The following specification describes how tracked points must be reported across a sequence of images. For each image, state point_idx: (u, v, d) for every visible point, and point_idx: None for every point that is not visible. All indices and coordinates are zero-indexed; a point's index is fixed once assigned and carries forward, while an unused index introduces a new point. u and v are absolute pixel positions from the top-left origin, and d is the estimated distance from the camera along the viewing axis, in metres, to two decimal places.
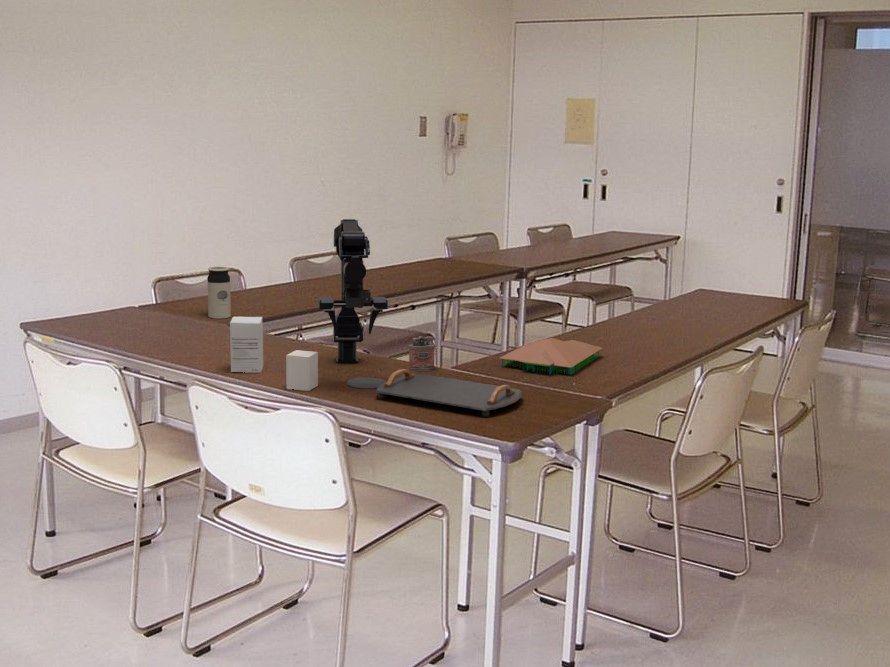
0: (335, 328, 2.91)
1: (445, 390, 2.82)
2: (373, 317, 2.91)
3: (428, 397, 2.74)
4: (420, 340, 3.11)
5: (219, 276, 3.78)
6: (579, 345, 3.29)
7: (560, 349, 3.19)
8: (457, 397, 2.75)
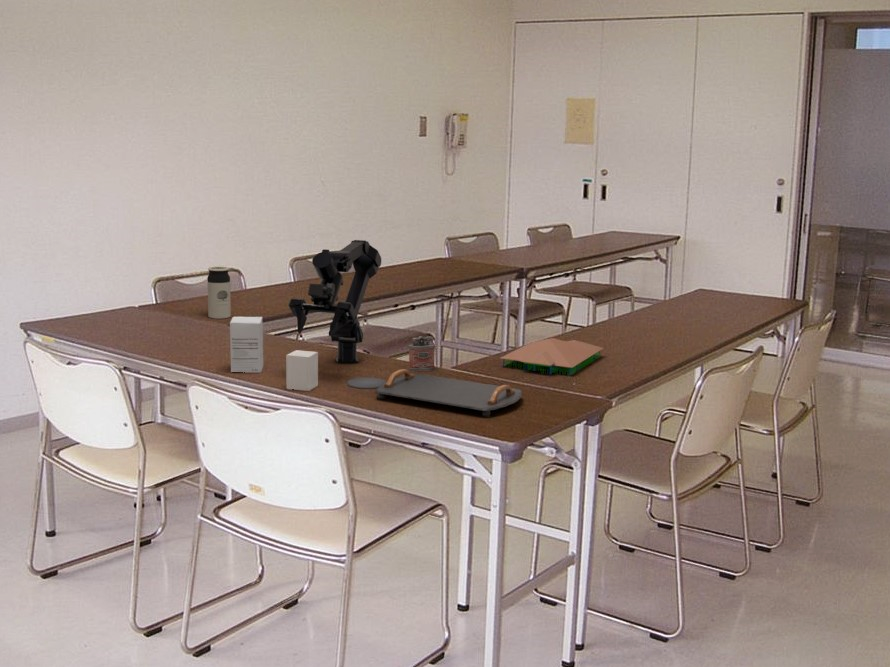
0: (298, 326, 2.97)
1: (445, 390, 2.82)
2: (335, 318, 2.96)
3: (428, 398, 2.74)
4: (420, 340, 3.11)
5: (219, 276, 3.78)
6: (580, 345, 3.29)
7: (561, 349, 3.19)
8: (458, 397, 2.75)
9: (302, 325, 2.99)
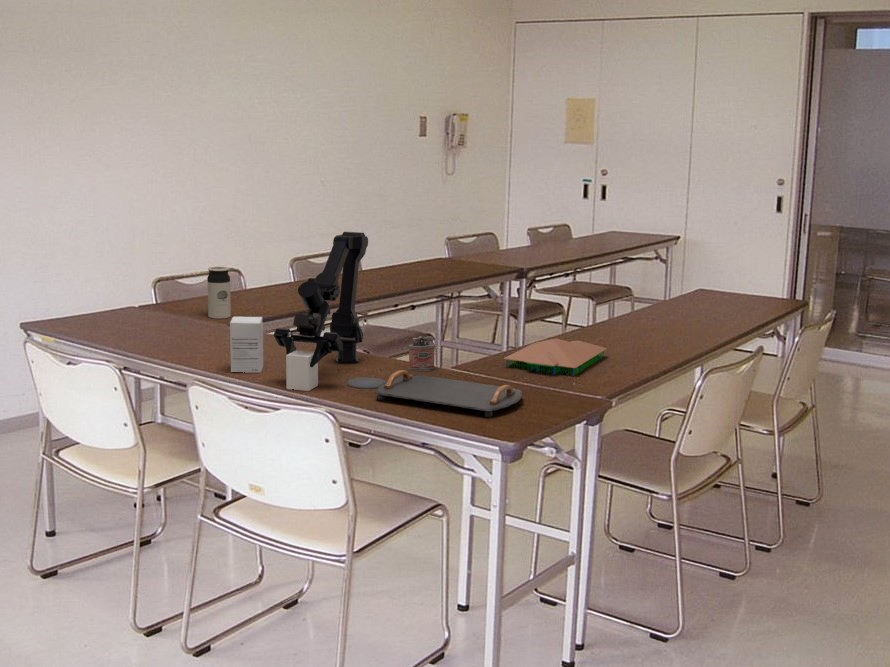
0: None
1: (445, 391, 2.81)
2: (317, 349, 2.88)
3: (430, 398, 2.73)
4: (420, 340, 3.11)
5: (219, 276, 3.78)
6: (584, 346, 3.28)
7: (564, 349, 3.19)
8: (459, 398, 2.74)
9: None
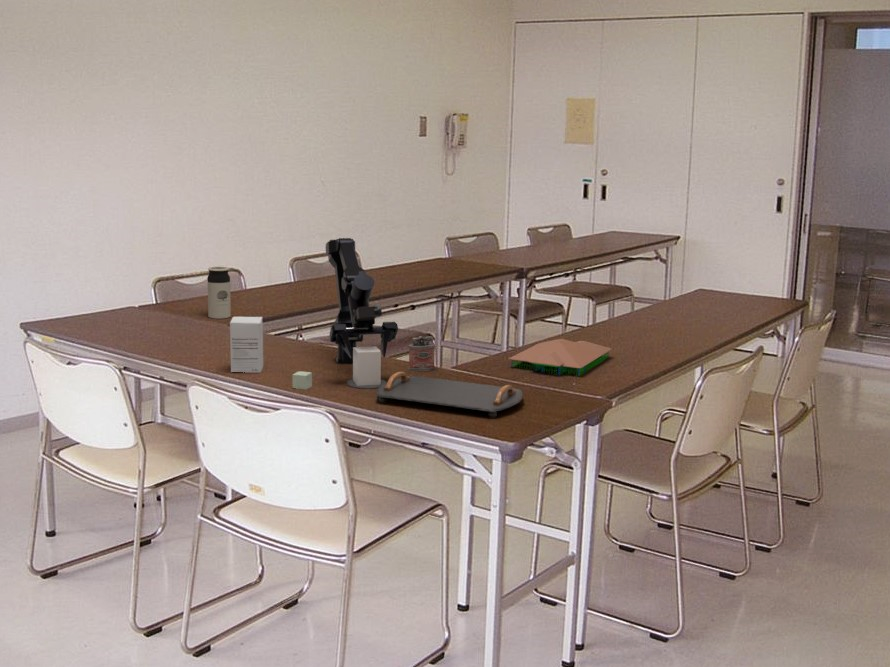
0: (350, 351, 2.92)
1: (446, 392, 2.80)
2: (385, 339, 2.96)
3: (432, 400, 2.72)
4: (420, 340, 3.11)
5: (219, 276, 3.78)
6: (589, 346, 3.28)
7: (569, 350, 3.18)
8: (461, 399, 2.73)
9: None
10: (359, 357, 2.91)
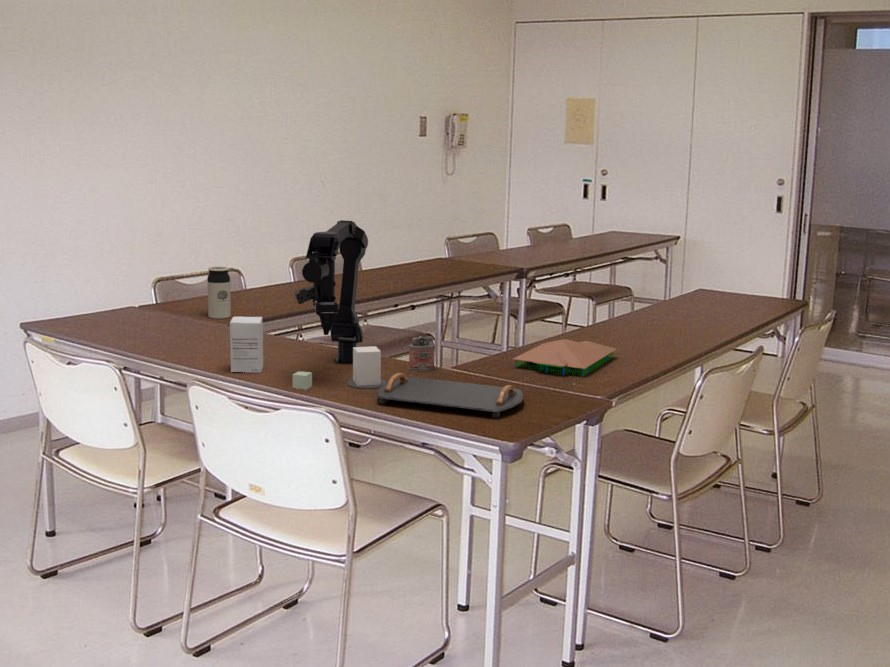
0: None
1: (447, 393, 2.79)
2: (321, 318, 2.95)
3: (434, 401, 2.71)
4: (420, 340, 3.11)
5: (219, 276, 3.78)
6: (593, 346, 3.28)
7: (574, 350, 3.18)
8: (463, 400, 2.73)
9: None
10: (359, 357, 2.91)
